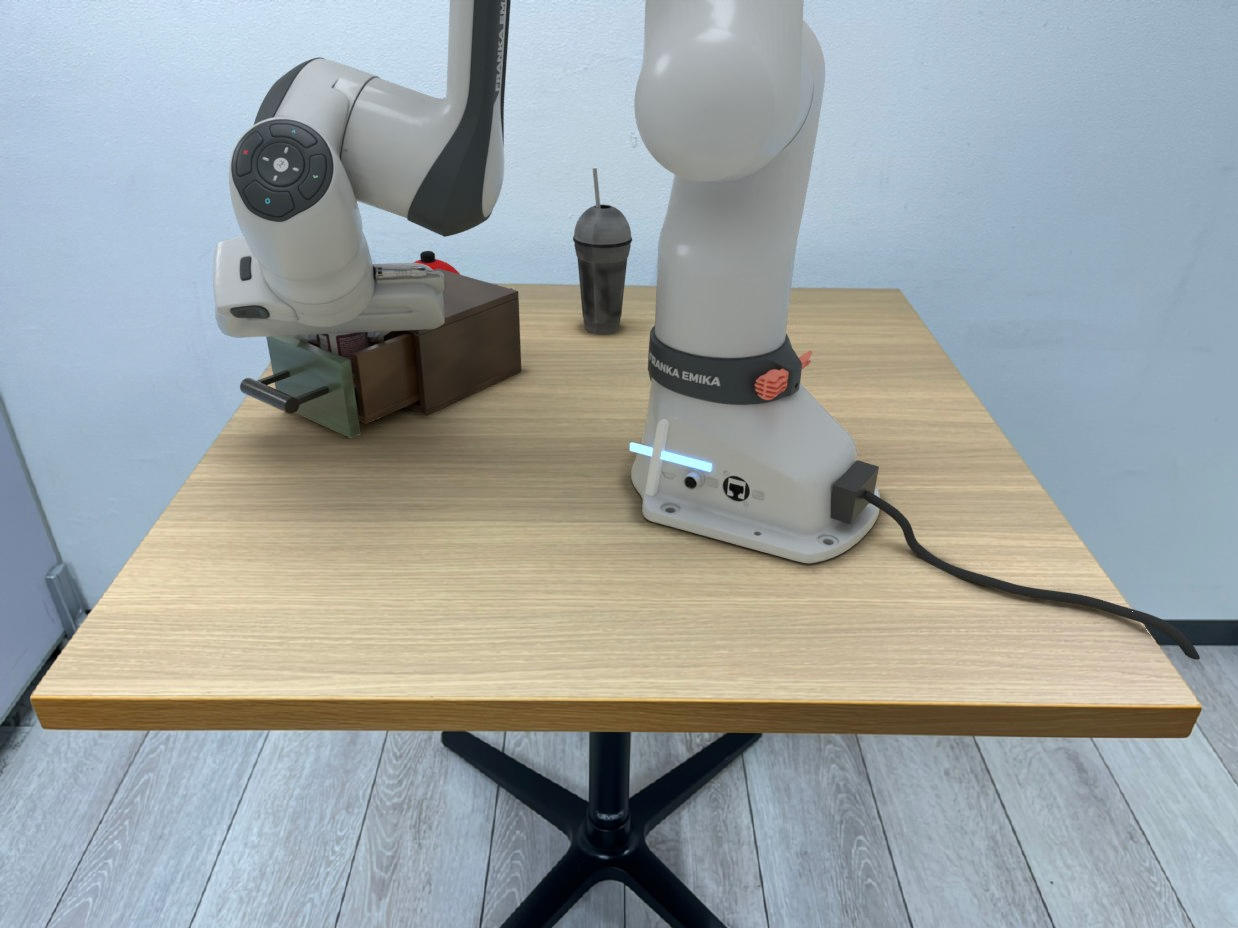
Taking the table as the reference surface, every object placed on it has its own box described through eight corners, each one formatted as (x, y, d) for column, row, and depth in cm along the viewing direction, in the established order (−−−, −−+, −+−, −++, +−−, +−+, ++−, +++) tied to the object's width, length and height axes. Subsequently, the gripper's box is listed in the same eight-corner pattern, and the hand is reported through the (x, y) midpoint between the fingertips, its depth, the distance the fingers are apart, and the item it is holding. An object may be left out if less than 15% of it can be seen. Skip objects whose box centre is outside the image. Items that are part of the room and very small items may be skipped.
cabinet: (426, 415, 94) (418, 328, 89) (347, 383, 101) (336, 300, 96) (521, 371, 104) (518, 290, 100) (444, 345, 111) (438, 268, 106)
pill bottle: (380, 372, 95) (370, 294, 90) (364, 391, 90) (354, 310, 86) (335, 369, 95) (324, 291, 91) (317, 388, 91) (305, 308, 87)
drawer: (307, 458, 84) (293, 380, 80) (235, 423, 90) (219, 349, 86) (452, 392, 97) (447, 323, 93) (381, 365, 103) (373, 299, 99)
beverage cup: (641, 331, 116) (646, 170, 106) (593, 342, 112) (594, 176, 103) (609, 314, 121) (611, 159, 111) (562, 324, 118) (560, 165, 108)
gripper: (441, 235, 80) (448, 304, 94) (196, 242, 77) (238, 312, 90) (446, 301, 79) (451, 361, 92) (195, 311, 75) (238, 372, 89)
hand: (344, 337), depth 91 cm, fingers closed on pill bottle, 5 cm apart
